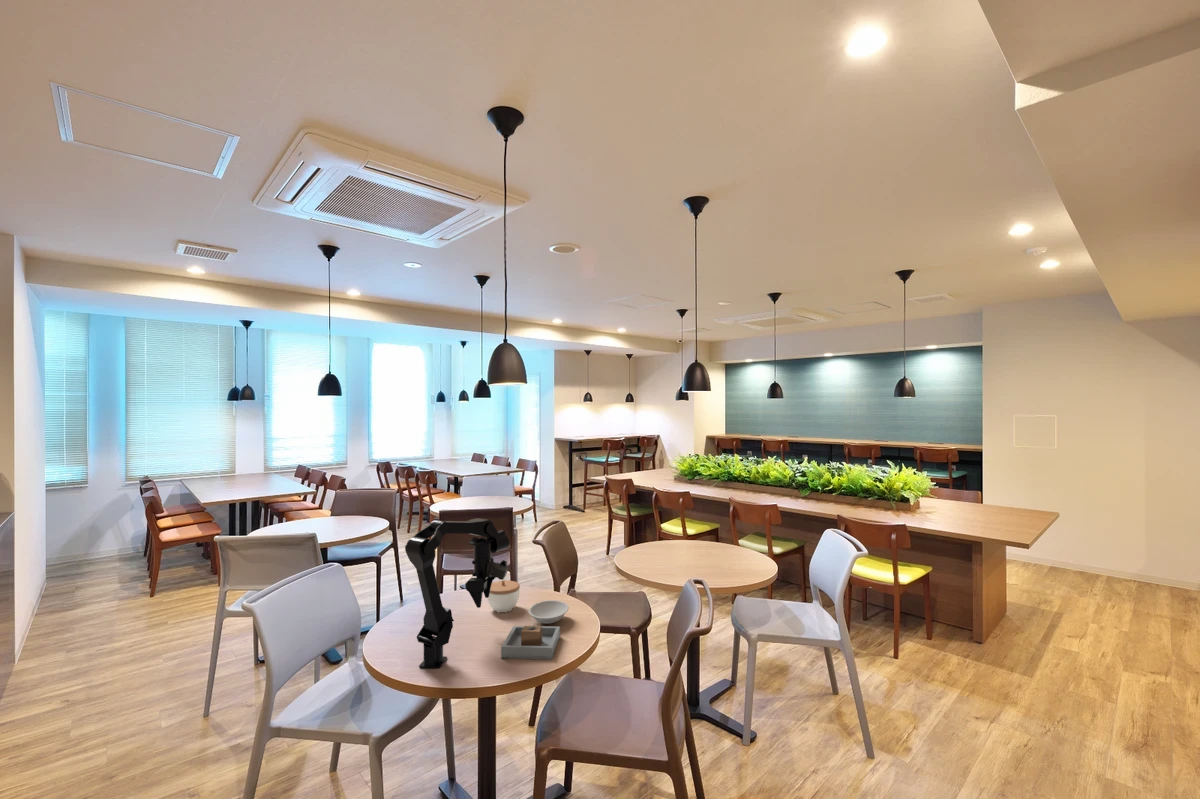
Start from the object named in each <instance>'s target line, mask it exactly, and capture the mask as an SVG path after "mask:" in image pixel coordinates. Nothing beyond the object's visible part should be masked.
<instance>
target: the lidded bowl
mask: <svg viewBox="0 0 1200 799" xmlns="http://www.w3.org/2000/svg"><path fill="white" fill-rule="evenodd" d="M520 587H521V586H520V583H519V582H517V581H514V580H504V579H503V580H499V581H493V582H492V585H491V589H490V594H489V597H488V598H487V601H488V604H489V607H490V608H491V609H492V610H493V611H494V610H495V611H497V612H496V613H498V612H505V613H508V612H507V611H509V612H511V611H513V609H514V608H515V607H516V605H517V603H518V601H519V597H520ZM512 608H513V609H512ZM510 610H511V611H510ZM495 611H494V612H495Z"/></svg>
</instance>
